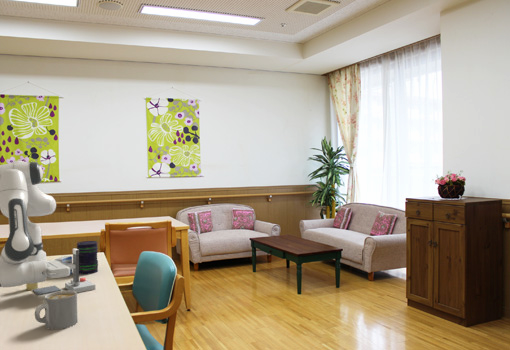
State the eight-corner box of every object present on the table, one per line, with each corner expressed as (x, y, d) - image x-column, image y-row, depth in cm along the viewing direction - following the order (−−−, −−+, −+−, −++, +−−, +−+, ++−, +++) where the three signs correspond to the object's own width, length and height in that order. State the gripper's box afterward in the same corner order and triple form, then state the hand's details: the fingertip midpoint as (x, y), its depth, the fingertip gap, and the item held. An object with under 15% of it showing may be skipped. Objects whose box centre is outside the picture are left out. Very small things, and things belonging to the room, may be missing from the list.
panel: (65, 287, 193) (64, 280, 193) (85, 283, 199) (85, 276, 199) (74, 293, 184) (73, 285, 184) (95, 289, 190) (95, 281, 190)
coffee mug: (73, 316, 155) (72, 288, 155) (81, 324, 147) (80, 295, 147) (31, 325, 147) (30, 296, 147) (37, 334, 139) (36, 303, 139)
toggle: (72, 283, 191) (72, 248, 190) (76, 283, 192) (75, 248, 192) (76, 286, 187) (75, 250, 187) (79, 285, 188) (79, 249, 188)
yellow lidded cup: (24, 288, 192) (23, 266, 192) (36, 286, 195) (36, 264, 195) (27, 291, 188) (26, 268, 188) (39, 289, 192) (39, 266, 191)
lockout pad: (32, 290, 189) (32, 289, 189) (54, 286, 195) (54, 285, 195) (38, 295, 182) (38, 293, 182) (61, 291, 188) (61, 289, 188)
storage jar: (95, 268, 228) (95, 240, 228) (100, 272, 220) (99, 242, 220) (75, 271, 223) (74, 242, 222) (79, 275, 214) (78, 245, 214)
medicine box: (62, 277, 211) (62, 259, 211) (54, 277, 212) (54, 259, 212) (72, 273, 219) (72, 256, 219) (64, 273, 220) (64, 255, 220)
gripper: (46, 267, 172) (82, 262, 181) (33, 259, 188) (67, 255, 196) (46, 283, 172) (82, 277, 181) (34, 274, 188) (67, 269, 197)
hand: (74, 265), depth 189 cm, fingers closed, pressing on toggle
